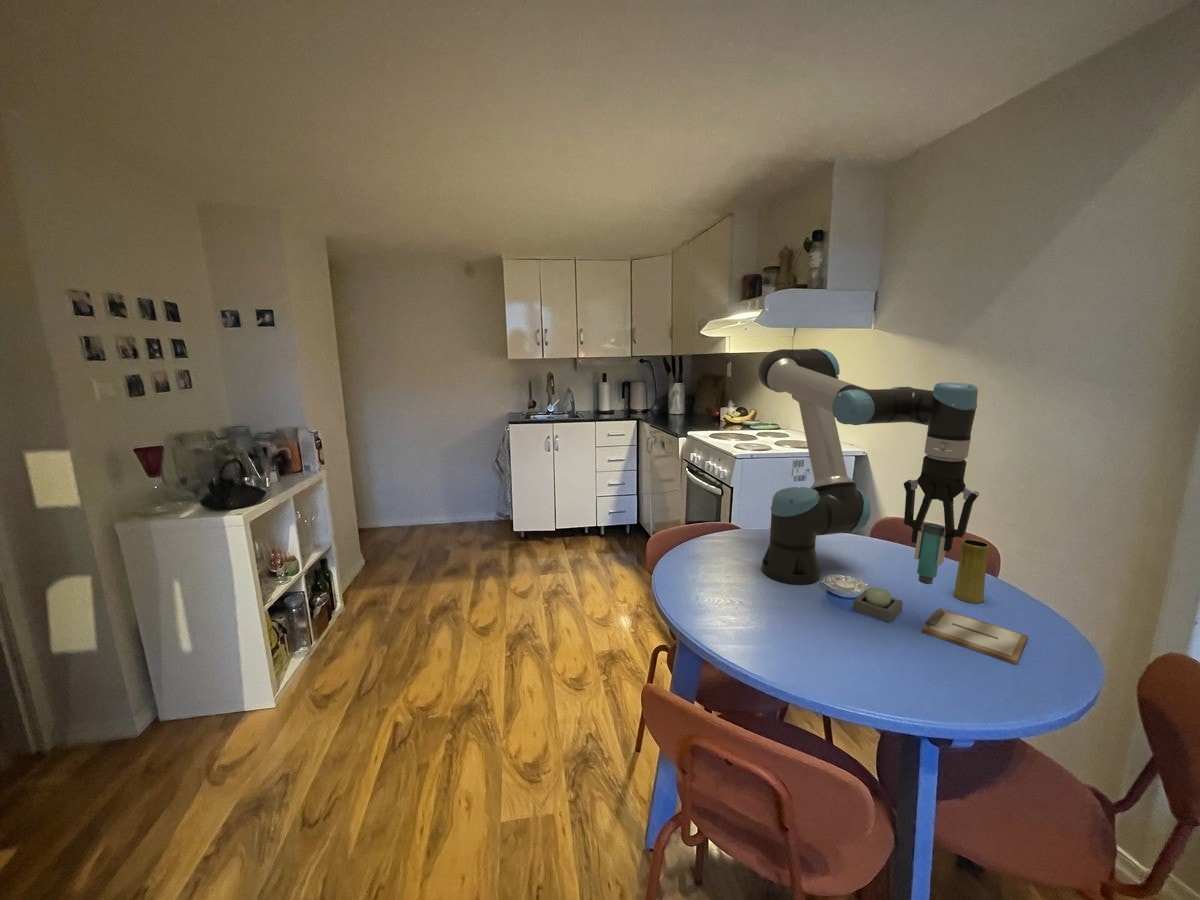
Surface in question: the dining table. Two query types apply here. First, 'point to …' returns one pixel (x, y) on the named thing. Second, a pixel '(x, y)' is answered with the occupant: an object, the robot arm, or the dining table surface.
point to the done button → (878, 597)
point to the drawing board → (976, 635)
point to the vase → (971, 571)
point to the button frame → (877, 608)
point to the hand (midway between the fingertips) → (928, 560)
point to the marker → (929, 552)
